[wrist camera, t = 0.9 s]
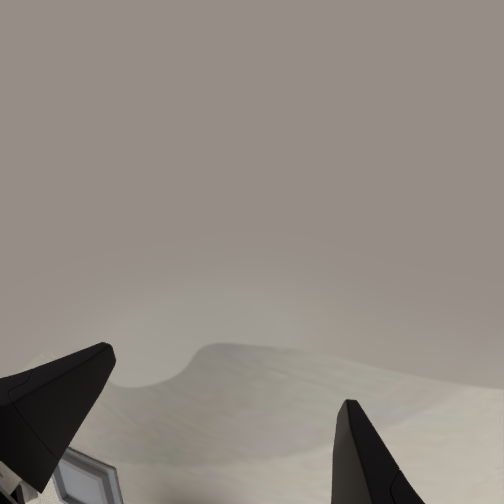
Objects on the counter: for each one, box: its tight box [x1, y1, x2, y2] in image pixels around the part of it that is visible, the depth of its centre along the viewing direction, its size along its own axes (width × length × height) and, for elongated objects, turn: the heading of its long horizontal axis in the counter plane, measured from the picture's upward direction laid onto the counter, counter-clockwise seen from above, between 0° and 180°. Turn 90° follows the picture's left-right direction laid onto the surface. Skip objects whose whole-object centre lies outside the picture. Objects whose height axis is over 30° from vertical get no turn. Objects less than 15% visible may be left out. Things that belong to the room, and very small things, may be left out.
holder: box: [51, 447, 123, 504], centre depth 19 cm, size 12×12×2 cm
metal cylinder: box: [20, 480, 38, 503], centre depth 15 cm, size 6×6×10 cm
